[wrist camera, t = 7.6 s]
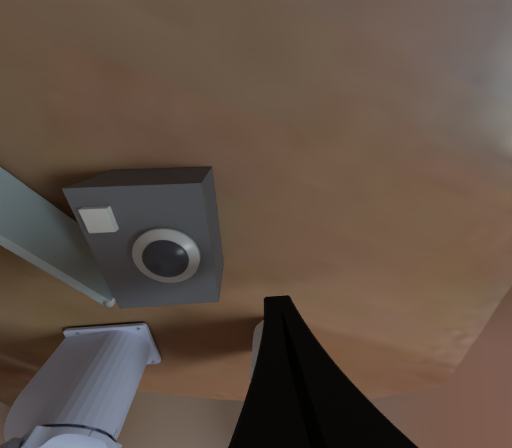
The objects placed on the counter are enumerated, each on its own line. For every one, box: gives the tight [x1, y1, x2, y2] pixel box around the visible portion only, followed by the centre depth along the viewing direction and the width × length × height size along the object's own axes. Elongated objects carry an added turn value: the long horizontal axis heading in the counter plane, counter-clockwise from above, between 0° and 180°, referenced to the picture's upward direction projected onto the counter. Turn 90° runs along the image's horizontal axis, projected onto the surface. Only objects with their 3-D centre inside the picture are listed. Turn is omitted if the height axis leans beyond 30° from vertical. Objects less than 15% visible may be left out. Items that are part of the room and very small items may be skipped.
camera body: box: [62, 167, 224, 308], centre depth 16 cm, size 8×10×6 cm
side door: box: [0, 167, 116, 307], centre depth 15 cm, size 1×15×4 cm, turn 36°
